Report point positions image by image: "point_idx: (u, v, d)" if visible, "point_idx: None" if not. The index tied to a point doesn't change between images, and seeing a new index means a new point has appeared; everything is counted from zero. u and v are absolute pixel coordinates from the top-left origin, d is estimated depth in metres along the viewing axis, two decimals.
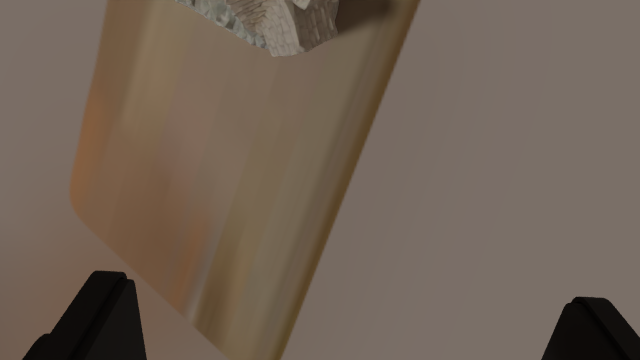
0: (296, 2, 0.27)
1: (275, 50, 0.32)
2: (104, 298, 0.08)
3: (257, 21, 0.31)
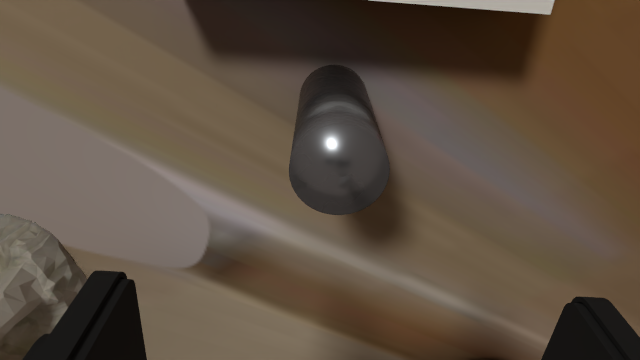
0: None
1: None
2: (104, 298, 0.08)
3: None
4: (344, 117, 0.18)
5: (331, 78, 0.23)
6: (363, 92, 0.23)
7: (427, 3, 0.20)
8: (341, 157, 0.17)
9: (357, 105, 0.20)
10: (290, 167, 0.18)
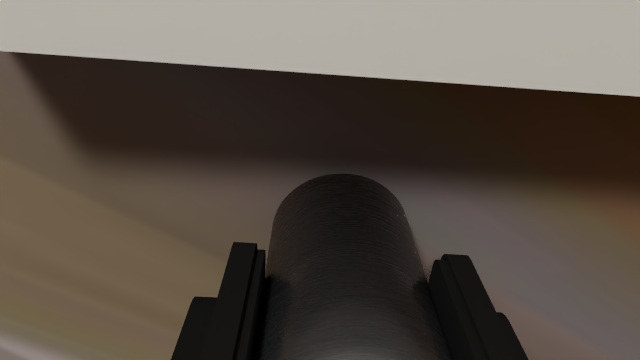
0: None
1: None
2: (251, 264, 0.09)
3: None
4: None
5: (338, 238, 0.10)
6: (416, 274, 0.09)
7: None
8: None
9: None
10: None
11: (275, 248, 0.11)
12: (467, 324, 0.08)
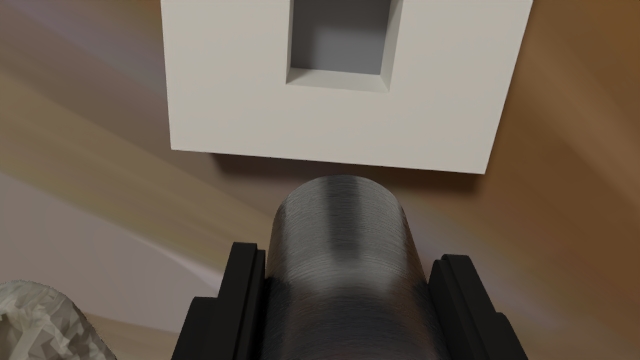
0: None
1: None
2: (251, 264, 0.09)
3: None
4: None
5: (338, 239, 0.10)
6: (416, 275, 0.09)
7: (390, 165, 0.26)
8: None
9: None
10: None
11: (275, 249, 0.11)
12: (467, 324, 0.08)
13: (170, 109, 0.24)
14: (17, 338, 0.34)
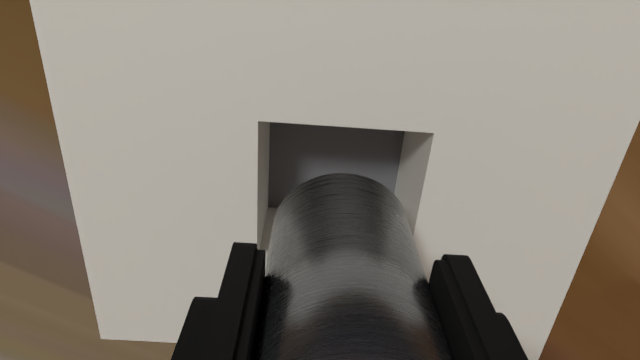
0: None
1: None
2: (251, 264, 0.09)
3: None
4: None
5: (339, 238, 0.10)
6: (416, 274, 0.09)
7: None
8: None
9: None
10: None
11: (275, 247, 0.11)
12: (467, 324, 0.08)
13: (94, 294, 0.17)
14: None
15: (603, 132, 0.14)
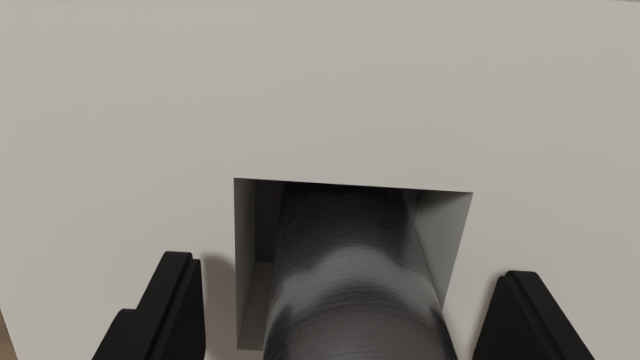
0: None
1: None
2: (179, 275, 0.09)
3: None
4: None
5: (340, 200, 0.11)
6: (406, 229, 0.11)
7: None
8: None
9: (412, 323, 0.08)
10: None
11: (286, 211, 0.13)
12: (549, 347, 0.08)
13: None
14: None
15: None
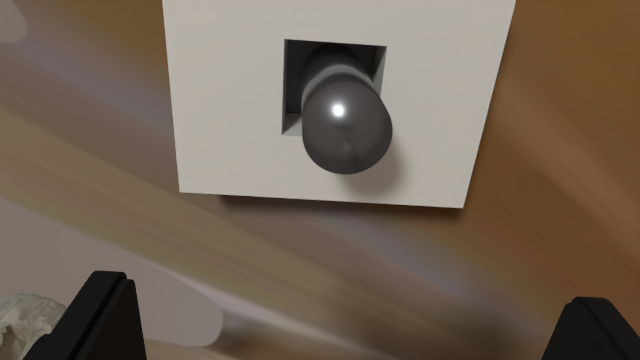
0: None
1: None
2: (104, 298, 0.08)
3: None
4: (349, 84, 0.19)
5: (331, 54, 0.25)
6: (361, 65, 0.25)
7: (377, 202, 0.28)
8: (349, 120, 0.19)
9: (358, 75, 0.21)
10: (303, 132, 0.20)
11: (305, 68, 0.26)
12: None
13: (178, 158, 0.27)
14: (21, 347, 0.37)
15: (486, 45, 0.24)
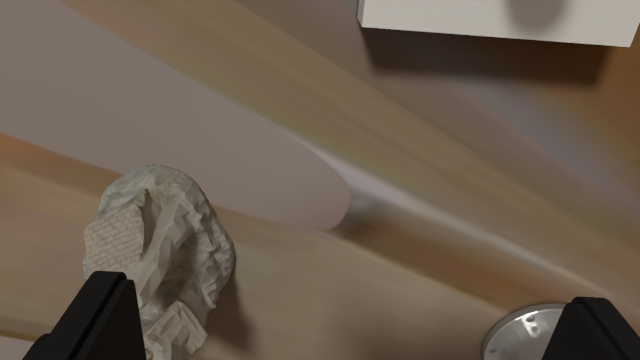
0: None
1: None
2: (104, 298, 0.08)
3: None
4: None
5: None
6: None
7: (549, 40, 0.30)
8: None
9: None
10: None
11: None
12: None
13: None
14: (158, 211, 0.38)
15: None
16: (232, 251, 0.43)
